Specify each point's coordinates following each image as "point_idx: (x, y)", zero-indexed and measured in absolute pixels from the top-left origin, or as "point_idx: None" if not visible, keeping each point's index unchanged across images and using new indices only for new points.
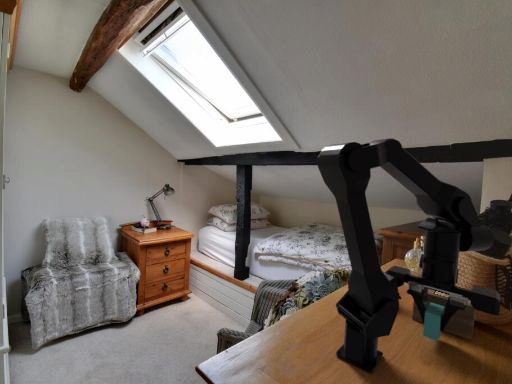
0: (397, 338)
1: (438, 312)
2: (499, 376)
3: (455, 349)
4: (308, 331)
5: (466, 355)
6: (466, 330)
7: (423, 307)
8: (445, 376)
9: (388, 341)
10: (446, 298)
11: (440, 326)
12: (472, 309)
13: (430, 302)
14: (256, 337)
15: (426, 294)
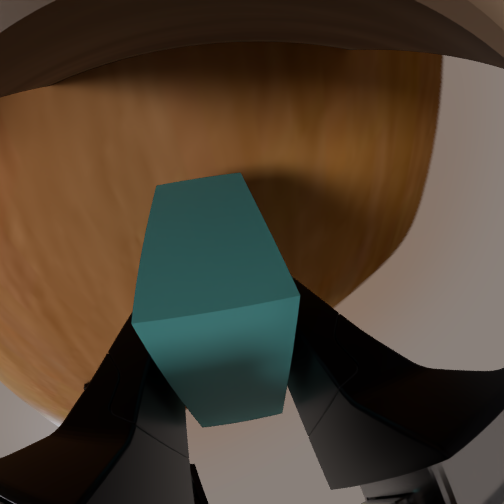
0: (115, 306)
1: (265, 399)
2: (397, 242)
3: (298, 198)
4: (42, 394)
5: (333, 207)
6: (352, 43)
7: (185, 437)
8: None
9: (115, 336)
10: None
11: None
12: (495, 63)
13: (134, 327)
14: (51, 421)
15: (141, 479)
